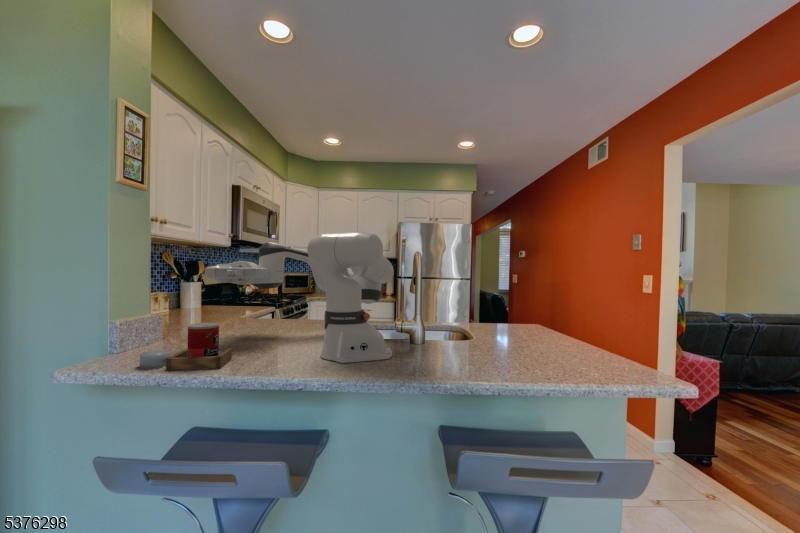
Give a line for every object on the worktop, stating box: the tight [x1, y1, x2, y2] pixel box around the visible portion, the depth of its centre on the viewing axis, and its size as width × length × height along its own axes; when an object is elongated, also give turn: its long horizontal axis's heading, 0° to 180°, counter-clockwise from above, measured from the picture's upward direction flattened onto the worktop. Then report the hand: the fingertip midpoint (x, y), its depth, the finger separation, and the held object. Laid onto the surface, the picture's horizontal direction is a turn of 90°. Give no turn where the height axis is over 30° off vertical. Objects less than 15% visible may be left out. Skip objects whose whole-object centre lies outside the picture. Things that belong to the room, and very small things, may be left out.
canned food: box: [187, 322, 220, 357], centre depth 99 cm, size 8×8×11 cm
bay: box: [165, 348, 233, 371], centre depth 98 cm, size 13×10×3 cm
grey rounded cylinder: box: [139, 349, 171, 370], centre depth 96 cm, size 7×7×4 cm
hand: (231, 272), depth 115 cm, fingers closed
